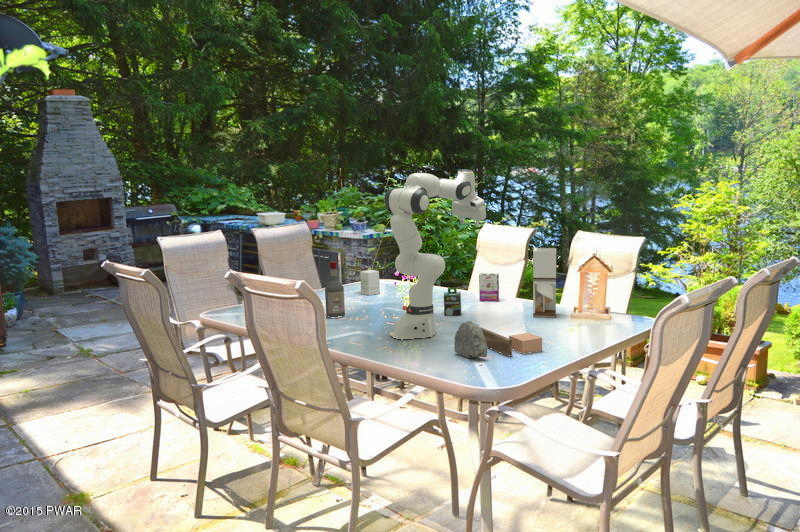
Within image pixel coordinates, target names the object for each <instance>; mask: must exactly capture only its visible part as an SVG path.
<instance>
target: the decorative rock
mask: <svg viewBox="0 0 800 532" xmlns="http://www.w3.org/2000/svg"><path fill="white" fill-rule="evenodd" d="M457 328H458V330H457V331H456V332H455V334H454V335H455V336H454V342H453V343H454V353H456V354H459V355H461V356H463V357H465V358H467V357H468V358H467V359H470V358H469V357H472V356H473V357H474V358H487V355H488V348H487V345H486V339H485V337H484V334H483V332H482V330H481V328H482V327H481V326H480V325H478V324H476V323H474V322H473V321H469V320H468V321H466V322H463V323H461V324H460V325H459V327H457ZM473 357H472V358H473Z"/></svg>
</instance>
